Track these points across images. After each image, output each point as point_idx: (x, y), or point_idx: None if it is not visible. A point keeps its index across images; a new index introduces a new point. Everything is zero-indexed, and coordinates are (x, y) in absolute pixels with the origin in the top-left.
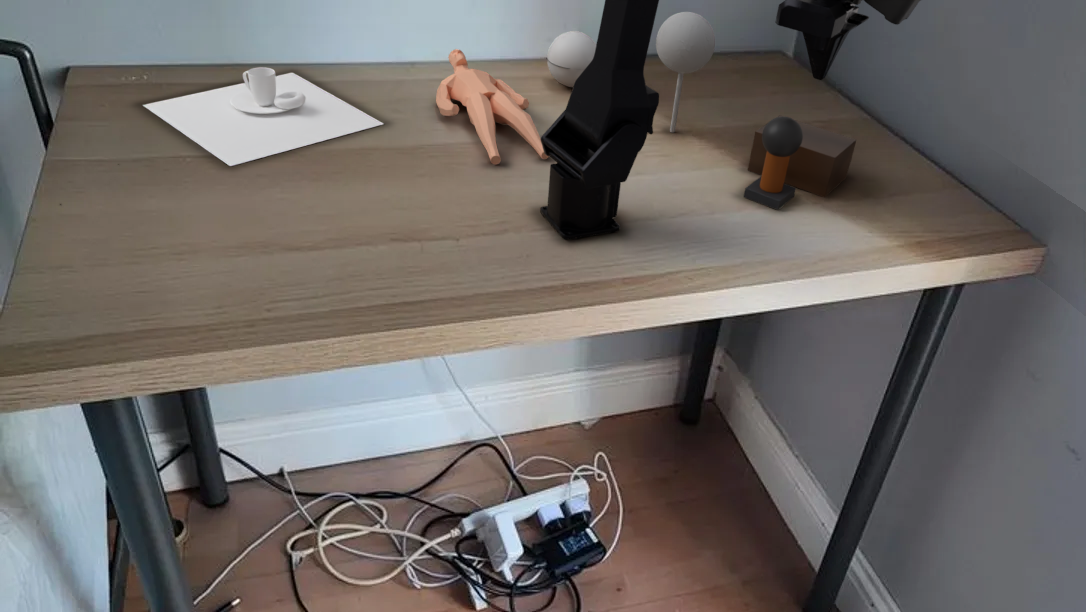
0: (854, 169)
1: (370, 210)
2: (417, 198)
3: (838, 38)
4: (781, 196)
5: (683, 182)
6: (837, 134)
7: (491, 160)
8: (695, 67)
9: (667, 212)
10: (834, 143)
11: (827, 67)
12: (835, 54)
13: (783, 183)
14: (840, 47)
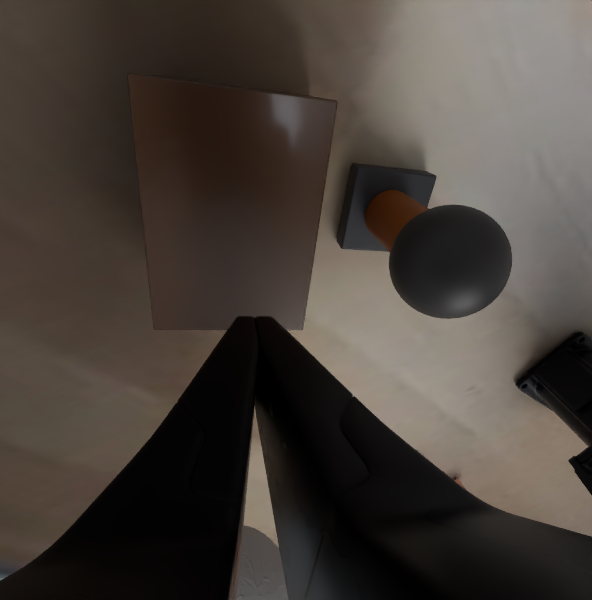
0: (75, 68)
1: (581, 481)
2: (550, 475)
3: (406, 505)
4: (417, 180)
5: (397, 337)
6: (145, 151)
7: (463, 486)
8: (257, 536)
9: (503, 311)
10: (227, 137)
11: (283, 345)
12: (237, 385)
13: (398, 194)
14: (174, 414)
